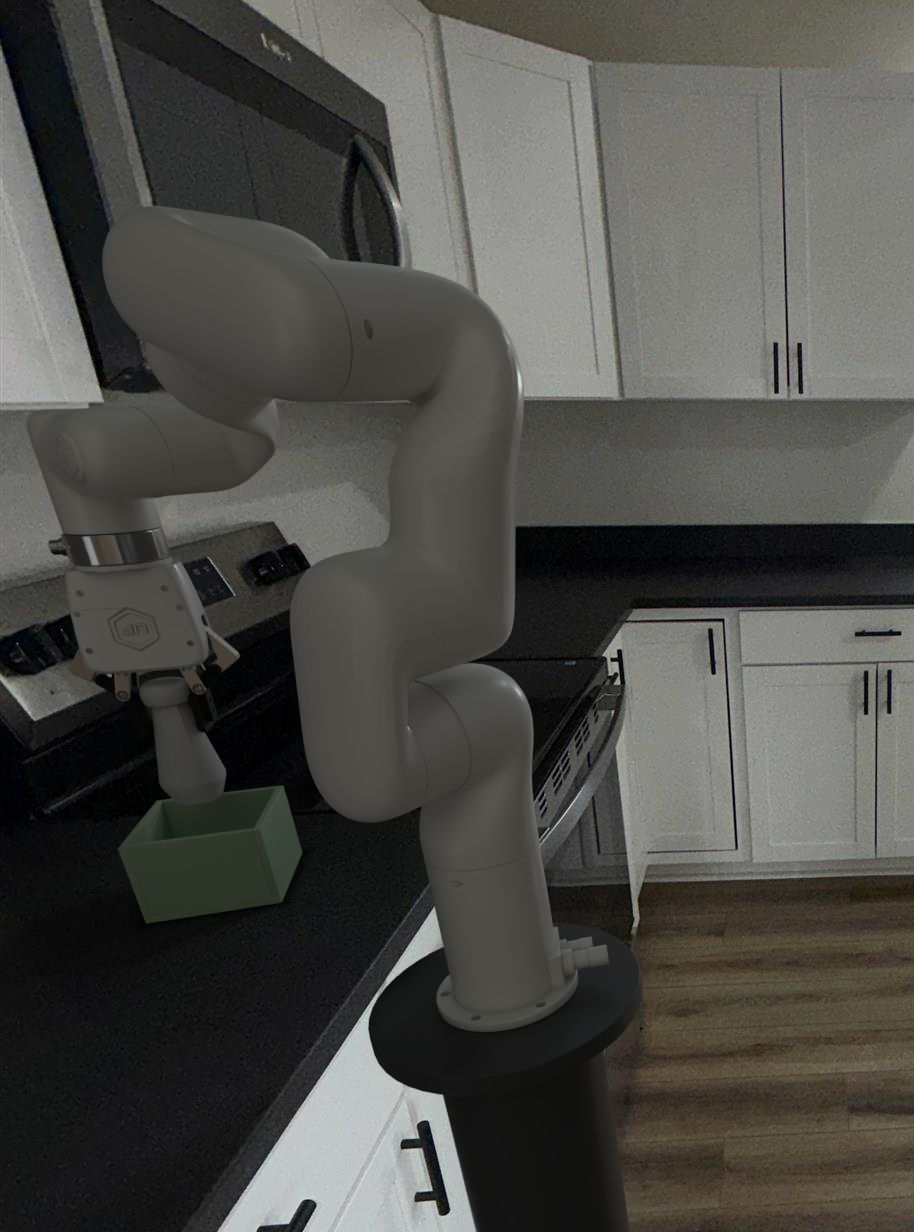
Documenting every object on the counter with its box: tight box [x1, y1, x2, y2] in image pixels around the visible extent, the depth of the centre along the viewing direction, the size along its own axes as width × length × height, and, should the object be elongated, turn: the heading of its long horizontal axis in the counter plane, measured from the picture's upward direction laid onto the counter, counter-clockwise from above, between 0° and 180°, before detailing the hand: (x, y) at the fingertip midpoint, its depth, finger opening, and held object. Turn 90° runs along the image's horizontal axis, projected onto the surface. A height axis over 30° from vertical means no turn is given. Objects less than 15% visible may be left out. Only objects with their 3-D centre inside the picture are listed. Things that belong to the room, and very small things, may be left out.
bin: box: [117, 785, 303, 925], centre depth 101 cm, size 12×12×9 cm
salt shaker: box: [139, 676, 227, 806], centre depth 95 cm, size 6×6×13 cm
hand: (178, 729), depth 95 cm, fingers closed on salt shaker, 4 cm apart
